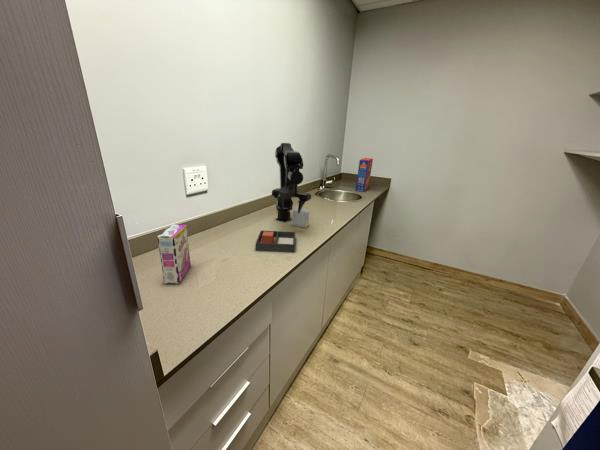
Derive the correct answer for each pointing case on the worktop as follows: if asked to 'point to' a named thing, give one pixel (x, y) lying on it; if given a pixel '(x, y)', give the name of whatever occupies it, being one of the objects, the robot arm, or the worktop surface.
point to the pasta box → (364, 174)
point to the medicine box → (300, 218)
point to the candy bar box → (174, 253)
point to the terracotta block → (267, 237)
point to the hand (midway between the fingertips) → (290, 211)
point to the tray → (277, 242)
